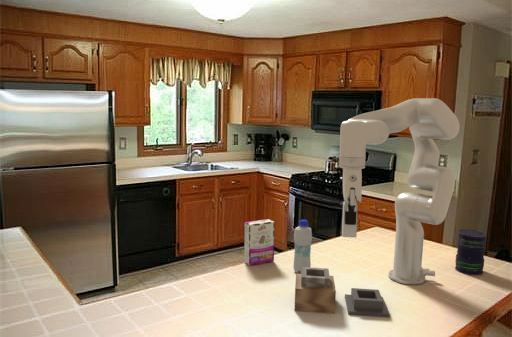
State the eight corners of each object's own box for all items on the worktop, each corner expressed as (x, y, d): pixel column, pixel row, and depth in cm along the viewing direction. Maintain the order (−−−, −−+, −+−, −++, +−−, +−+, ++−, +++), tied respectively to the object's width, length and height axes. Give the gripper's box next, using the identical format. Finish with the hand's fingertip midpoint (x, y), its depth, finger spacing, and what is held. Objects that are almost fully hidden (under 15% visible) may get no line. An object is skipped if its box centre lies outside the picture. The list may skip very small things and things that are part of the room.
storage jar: (455, 272, 164) (458, 234, 162) (454, 264, 173) (457, 228, 171) (484, 277, 161) (488, 238, 159) (481, 268, 170) (485, 231, 168)
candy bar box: (268, 257, 176) (269, 218, 174) (274, 261, 172) (275, 221, 170) (243, 261, 171) (244, 221, 169) (248, 266, 167) (249, 224, 165)
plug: (355, 233, 134) (356, 195, 132) (356, 237, 130) (357, 198, 128) (342, 233, 134) (343, 195, 132) (342, 237, 130) (344, 198, 129)
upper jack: (332, 296, 141) (333, 266, 140) (334, 313, 129) (336, 281, 128) (295, 293, 142) (296, 264, 141) (294, 310, 131) (295, 278, 129)
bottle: (310, 269, 165) (312, 217, 162) (311, 275, 158) (313, 222, 156) (292, 268, 166) (294, 217, 163) (292, 274, 159) (294, 221, 156)
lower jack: (382, 299, 139) (383, 287, 139) (389, 317, 128) (390, 304, 127) (344, 297, 141) (345, 285, 140) (348, 314, 129) (349, 301, 128)
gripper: (368, 166, 120) (365, 230, 123) (362, 159, 136) (359, 215, 139) (340, 166, 121) (338, 229, 124) (337, 158, 137) (335, 214, 140)
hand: (349, 221), depth 131 cm, fingers closed on plug, 4 cm apart
